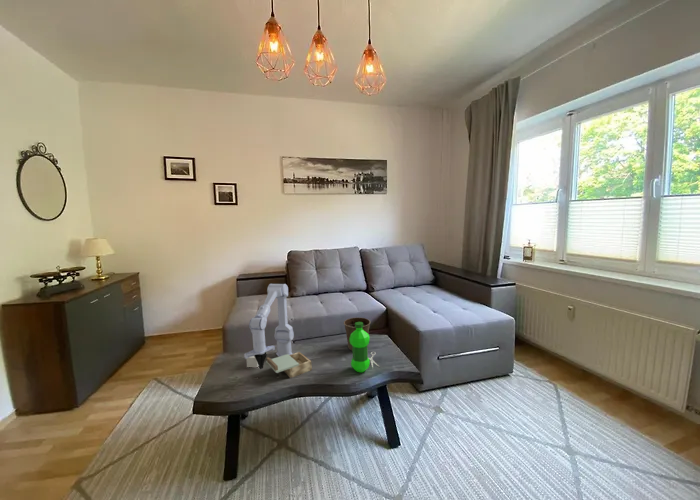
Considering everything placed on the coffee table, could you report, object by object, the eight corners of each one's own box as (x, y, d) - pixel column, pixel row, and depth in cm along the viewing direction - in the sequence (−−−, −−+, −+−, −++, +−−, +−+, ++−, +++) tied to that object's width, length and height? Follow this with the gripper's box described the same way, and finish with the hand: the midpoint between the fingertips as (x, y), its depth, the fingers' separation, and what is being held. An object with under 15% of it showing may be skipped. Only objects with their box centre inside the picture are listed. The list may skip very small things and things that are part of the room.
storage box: (290, 378, 144) (289, 368, 144) (279, 367, 156) (279, 358, 155) (311, 370, 151) (311, 361, 151) (300, 360, 163) (299, 351, 162)
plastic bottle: (355, 363, 157) (353, 318, 154) (373, 367, 152) (372, 321, 150) (347, 372, 148) (345, 325, 145) (366, 376, 143) (364, 328, 141)
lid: (276, 373, 140) (276, 367, 139) (266, 362, 151) (266, 357, 151) (299, 365, 147) (298, 359, 146) (287, 355, 158) (287, 350, 158)
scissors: (373, 350, 171) (386, 366, 152) (373, 351, 171) (386, 367, 152) (356, 352, 169) (367, 369, 149) (356, 354, 169) (367, 370, 149)
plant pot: (368, 354, 167) (367, 327, 165) (341, 352, 170) (340, 326, 169) (373, 342, 182) (372, 317, 181) (348, 341, 186) (347, 316, 184)
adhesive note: (262, 362, 161) (261, 352, 161) (257, 368, 156) (257, 357, 155) (251, 362, 162) (251, 352, 161) (247, 368, 156) (246, 357, 155)
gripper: (246, 348, 133) (248, 376, 135) (276, 339, 142) (278, 366, 143) (242, 343, 139) (244, 370, 141) (271, 335, 148) (272, 360, 149)
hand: (261, 367), depth 142 cm, fingers closed
